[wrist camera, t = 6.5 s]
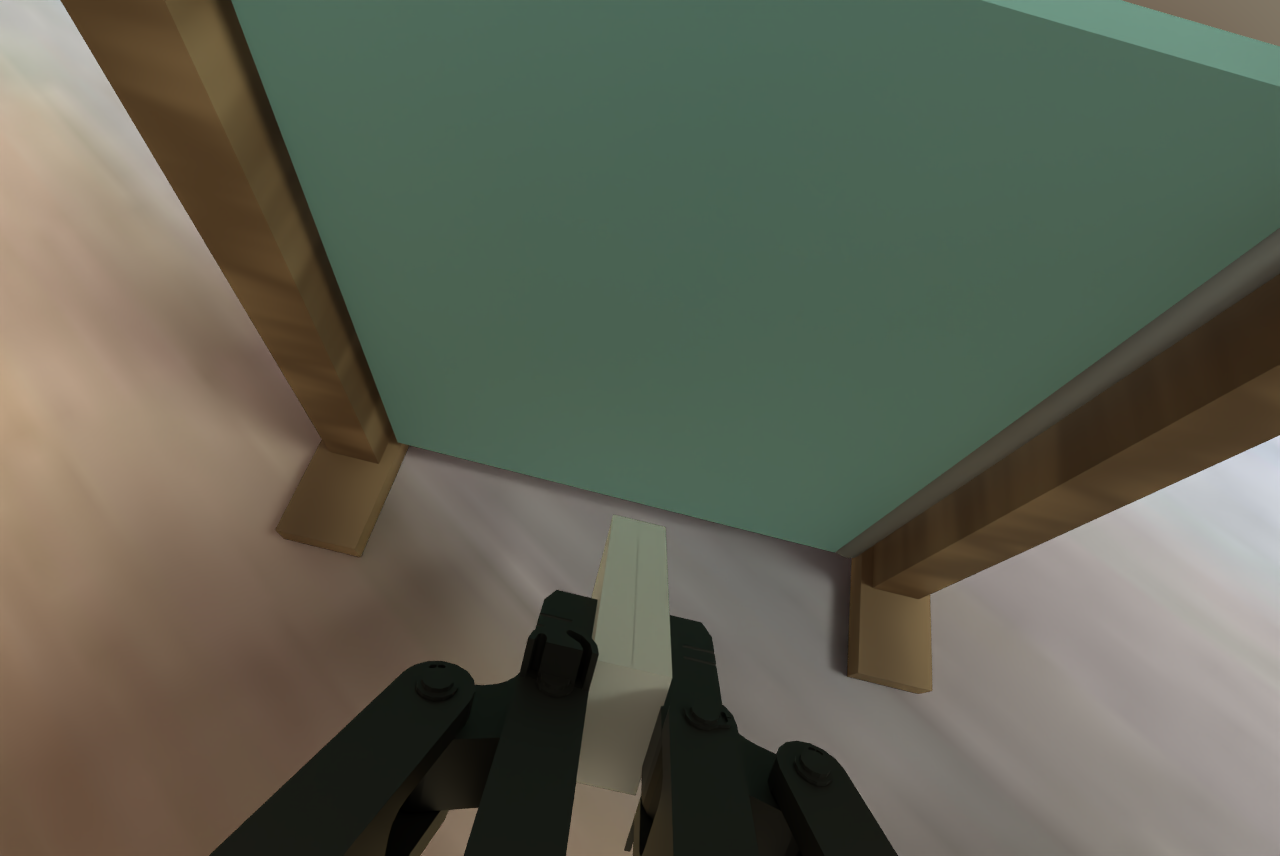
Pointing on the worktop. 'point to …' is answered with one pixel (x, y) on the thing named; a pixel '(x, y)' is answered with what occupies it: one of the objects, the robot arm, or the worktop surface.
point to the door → (769, 230)
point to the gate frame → (371, 456)
